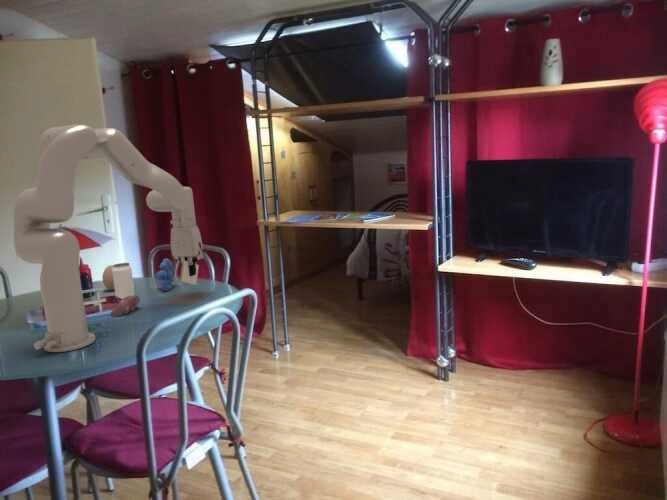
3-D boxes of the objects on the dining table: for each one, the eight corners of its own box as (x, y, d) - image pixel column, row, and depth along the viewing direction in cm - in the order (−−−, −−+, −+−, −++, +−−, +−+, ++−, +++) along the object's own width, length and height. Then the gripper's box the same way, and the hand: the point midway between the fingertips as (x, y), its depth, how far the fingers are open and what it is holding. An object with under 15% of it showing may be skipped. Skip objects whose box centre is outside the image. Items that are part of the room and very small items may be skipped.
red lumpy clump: (120, 323, 162) (127, 304, 160) (108, 316, 163) (114, 297, 161) (138, 313, 172) (144, 295, 170) (126, 307, 172) (132, 289, 170)
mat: (189, 306, 170) (189, 305, 170) (158, 305, 174) (158, 303, 174) (215, 293, 185) (214, 292, 185) (185, 292, 189) (185, 291, 189)
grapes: (161, 286, 199) (158, 256, 197) (179, 285, 199) (175, 255, 197) (151, 295, 188) (147, 262, 186) (170, 294, 188) (166, 261, 186)
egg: (101, 290, 199) (98, 265, 197) (119, 287, 203) (116, 262, 201) (107, 293, 194) (104, 268, 192) (126, 289, 198) (122, 264, 197)
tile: (183, 281, 176) (186, 260, 177) (179, 281, 176) (182, 260, 177) (196, 284, 183) (198, 265, 184) (192, 284, 183) (195, 265, 185)
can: (126, 299, 183) (122, 266, 181) (111, 299, 185) (107, 266, 183) (138, 294, 189) (134, 262, 187) (124, 294, 191) (120, 262, 189)
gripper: (158, 225, 176) (165, 277, 180) (198, 224, 171) (204, 278, 175) (171, 221, 183) (178, 272, 187) (210, 221, 178) (215, 273, 182)
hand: (190, 275), depth 181 cm, fingers closed on tile, 1 cm apart
